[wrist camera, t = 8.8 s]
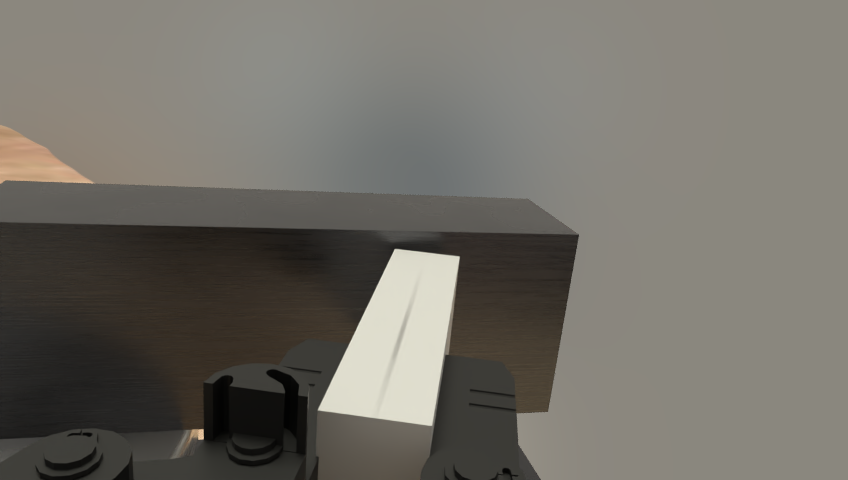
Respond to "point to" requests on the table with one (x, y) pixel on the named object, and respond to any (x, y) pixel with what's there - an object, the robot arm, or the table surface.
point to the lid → (241, 294)
